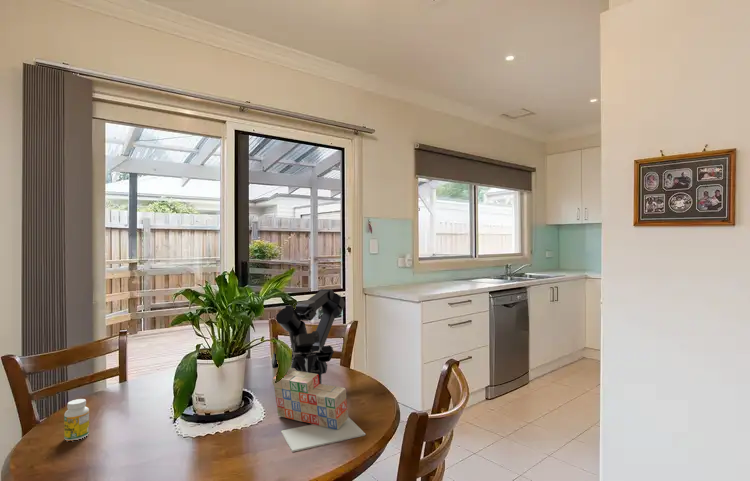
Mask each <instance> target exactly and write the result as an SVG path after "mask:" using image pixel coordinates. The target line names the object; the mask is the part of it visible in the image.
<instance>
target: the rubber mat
mask: <svg viewBox="0 0 750 481" xmlns="http://www.w3.org/2000/svg"><path fill="white" fill-rule="evenodd" d="M280 433H281V434H282V436H283V438H284V440H285V442H286V443H287V445H288V447H289V450H290V451H291V452H292V453H294V452H298V451H299V452H300V451H302V450H303V451H304V450H308V449H310V448H311V449H312V448H316V447H320V446H324V445H325V446H326V445H329V444H333V443H334V444H335V443H339V442H342V441H346V440H351V439H355V438H360V437H364V436H367V435H366V433H365V432H364V431H363V430H362V429H361V428H360V426H358V425H357V424H356V423H355V422H354V421H353V420H352V419H351V418H350V417H349V416H348V419H347V420H346V421H345V422H344V423H343V424H342V425H341V426H340V427H339V428H338V429H337V430H336V429H331V428H328V427H323V426H319V425H316V424H309V425H303V426H298V427H293V428H288V429H284V430H281V431H280Z"/></svg>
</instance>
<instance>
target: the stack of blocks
mask: <svg viewBox="0 0 750 481" xmlns="http://www.w3.org/2000/svg"><path fill="white" fill-rule="evenodd" d="M276 376H277V375H275V376H274V377H273V378H272V380H273V386H274V387H273V388H274V395H275V402H276V410H277V416H278V417H281V418H286V419H290V420H293V421H298V422H302V423H307V424H310V425H312V424H316V425H319V426H323V427H328V428H331V429H336V430H337V429H338V428H339V427H340V426H341V425H342V424H343V423H344V422H345V421H346V420H347V419H348V417H349V412H348V403H347V390H346V389H347V388H345V387H341V386H335V385H329V384H324V383H322V384H319V375H318V374H315V373H308V372H301V371H297V370H296V369H295V370H293V369H289V370H288V372H287V374H286V375H285V376H284V378H282V379H281V380H280V381H279V382H277V383H275V381H276Z"/></svg>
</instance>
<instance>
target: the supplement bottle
mask: <svg viewBox="0 0 750 481" xmlns="http://www.w3.org/2000/svg"><path fill="white" fill-rule="evenodd" d="M66 405H67V406H66V407H67V410H66V411H65V412H64V414H63V415H64V416H63V417H64V418H63V419H64V420H63V421H64V422H63V428H64V429H63V434H64V435H63V437H64V438H63V440H64V439H65V440H78V439H81V440H83V439H85V438H87V437H88V436H89V435H90V408H89V407H88V406H86V405H87V400H86V399H85V398H77V399H73V400H70V401H68V402H67V404H66ZM88 434H89V435H88ZM86 436H87V437H86ZM84 437H85V438H84ZM82 438H83V439H82ZM65 440H64V441H65ZM78 441H79V440H78Z"/></svg>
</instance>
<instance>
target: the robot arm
mask: <svg viewBox="0 0 750 481" xmlns="http://www.w3.org/2000/svg"><path fill="white" fill-rule="evenodd" d="M343 298H344V297H342V296H341V295H339V294H337V293H336V292H335V291H334V290H333V289H330V288H329V289H328V288H321V289H319V290H318V292H317V293H314V294H313V295H312V296H311V297H309V298H308V299H307V300H303V301H298V302H296V303H297V305H296V309H295V308H293V305H292V304H290V305H288V304H286V305H285V307H284V308H282V309H281V310H279V312H277V314H276V316H275V319H276V322H277V323H278V324H279V326H280V327H282V328H283V330H284V331H286V332H288V334H289V340H290V348H291V350H292V353H291V354H292V362H291V365H290V368H291V369H295V371H301V372H308V373H315V374H318V375H319V384H323V383H322V375H324V374H326V373H327V371H328V362H330V361H331V360H332V357H333V354H334V353H335V352H334V348H333V347H332V345H325V344H326V342H327V339H328V336H329V335H330V331H331V328H332V326H333V323H334V320H335V319H336V318H337V317H339V316H340V315H341V314H342V312H343V310H344V309H345V306H346V305H345V302H346V301H345V300H344V299H343ZM319 308H321V309H322V315H321V317H320V319H319V321H318V322H319V323H318V325H317V327H316V329H315V331H314V330H313V331H312V332H310V333H308V331H307V327H306V326H307V325H306V323H305V321H307V322H308V321H312V320H313V319H314V318H315V317H316V316H317V311H318V310H319ZM294 309H295V310H294ZM271 367H272V369H279V368H278V364H277V360H276V354H275V351H274V352H273V354H272V357H271Z"/></svg>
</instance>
